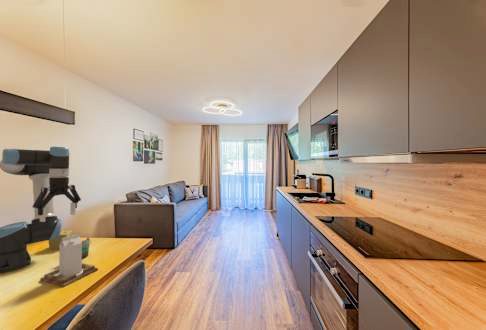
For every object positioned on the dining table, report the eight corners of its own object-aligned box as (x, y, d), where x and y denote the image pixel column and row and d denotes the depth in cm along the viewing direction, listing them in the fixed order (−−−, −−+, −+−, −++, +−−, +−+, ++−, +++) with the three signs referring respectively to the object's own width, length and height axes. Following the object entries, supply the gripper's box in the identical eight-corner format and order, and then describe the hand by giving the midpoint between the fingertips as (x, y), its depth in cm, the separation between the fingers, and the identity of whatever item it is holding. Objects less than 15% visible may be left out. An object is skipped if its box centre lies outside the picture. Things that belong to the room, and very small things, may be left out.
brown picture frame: (40, 280, 100) (40, 275, 100) (75, 265, 115) (75, 260, 115) (64, 286, 95) (64, 281, 95) (97, 270, 110) (97, 265, 110)
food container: (76, 262, 118) (76, 245, 118) (67, 261, 119) (68, 244, 119) (95, 253, 130) (95, 238, 130) (87, 253, 132) (87, 237, 132)
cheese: (59, 244, 146) (59, 230, 146) (76, 243, 148) (76, 229, 148) (48, 250, 136) (48, 235, 136) (66, 249, 138) (66, 234, 138)
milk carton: (59, 273, 104) (59, 236, 104) (76, 268, 110) (76, 232, 110) (64, 278, 100) (64, 239, 100) (81, 271, 106) (81, 235, 106)
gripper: (33, 179, 92) (32, 225, 92) (89, 175, 116) (88, 212, 116) (22, 178, 94) (21, 224, 94) (79, 175, 118) (78, 211, 118)
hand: (58, 218), depth 105 cm, fingers open, 13 cm apart
